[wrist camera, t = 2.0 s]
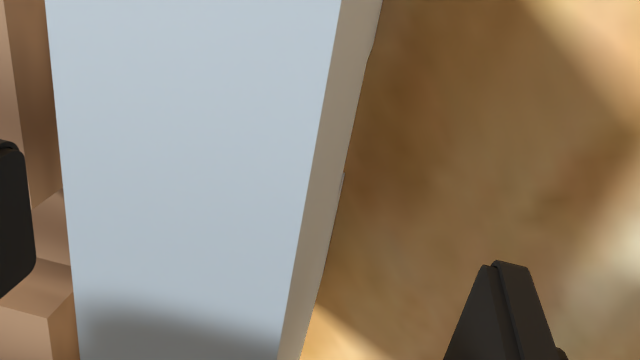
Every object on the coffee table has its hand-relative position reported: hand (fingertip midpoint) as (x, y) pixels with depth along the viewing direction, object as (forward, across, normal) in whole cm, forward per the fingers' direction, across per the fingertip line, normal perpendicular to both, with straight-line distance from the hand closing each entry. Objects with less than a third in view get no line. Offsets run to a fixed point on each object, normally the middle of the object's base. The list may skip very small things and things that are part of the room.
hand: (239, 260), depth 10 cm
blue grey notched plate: (+8, 0, -1) cm, 8 cm away
